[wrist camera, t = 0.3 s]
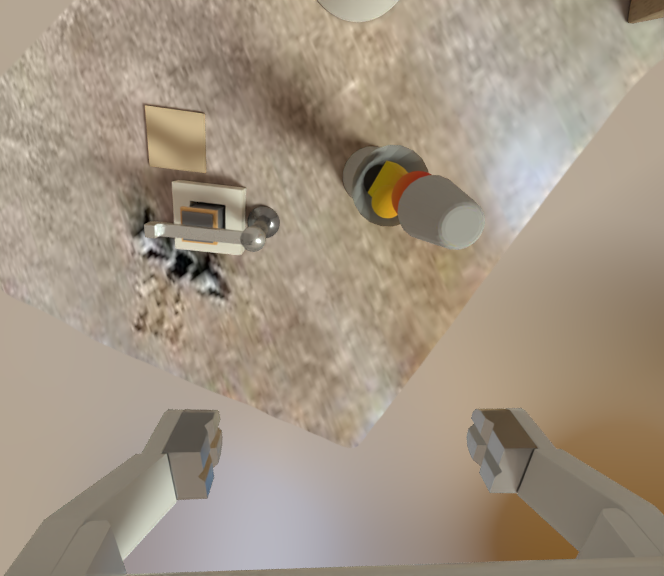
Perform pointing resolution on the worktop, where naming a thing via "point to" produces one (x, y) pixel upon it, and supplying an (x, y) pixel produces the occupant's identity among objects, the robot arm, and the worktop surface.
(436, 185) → the lava lamp
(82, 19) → the worktop surface
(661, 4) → the wooden block
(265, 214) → the post
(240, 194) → the socket
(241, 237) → the grey metal bar
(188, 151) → the coaster
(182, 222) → the plug
